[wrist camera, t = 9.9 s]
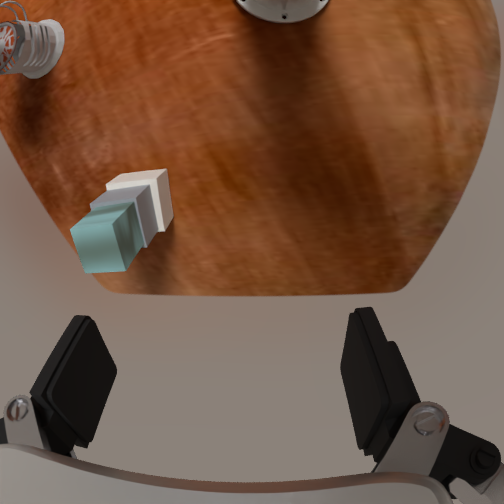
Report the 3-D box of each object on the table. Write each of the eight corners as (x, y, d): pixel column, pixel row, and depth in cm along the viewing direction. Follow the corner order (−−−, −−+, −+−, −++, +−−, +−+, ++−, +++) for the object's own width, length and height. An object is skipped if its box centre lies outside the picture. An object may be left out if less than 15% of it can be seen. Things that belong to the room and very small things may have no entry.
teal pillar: (95, 207, 32) (70, 229, 27) (134, 201, 32) (112, 223, 26) (107, 246, 34) (85, 273, 29) (144, 242, 34) (125, 270, 29)
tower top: (107, 190, 36) (89, 204, 32) (149, 184, 36) (135, 197, 31) (117, 232, 39) (102, 250, 34) (158, 229, 39) (146, 247, 34)
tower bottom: (120, 173, 40) (105, 184, 36) (167, 168, 40) (156, 178, 35) (129, 219, 43) (116, 234, 39) (173, 216, 43) (164, 231, 39)
